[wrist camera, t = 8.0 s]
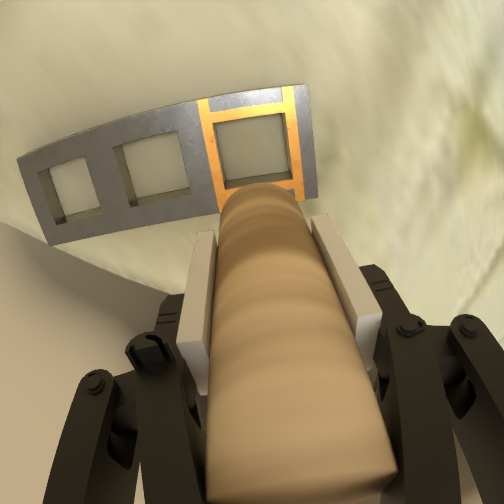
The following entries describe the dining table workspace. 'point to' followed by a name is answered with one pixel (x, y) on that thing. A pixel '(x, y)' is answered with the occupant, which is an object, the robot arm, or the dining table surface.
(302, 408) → the peg
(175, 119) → the grey peg board
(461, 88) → the dining table surface
